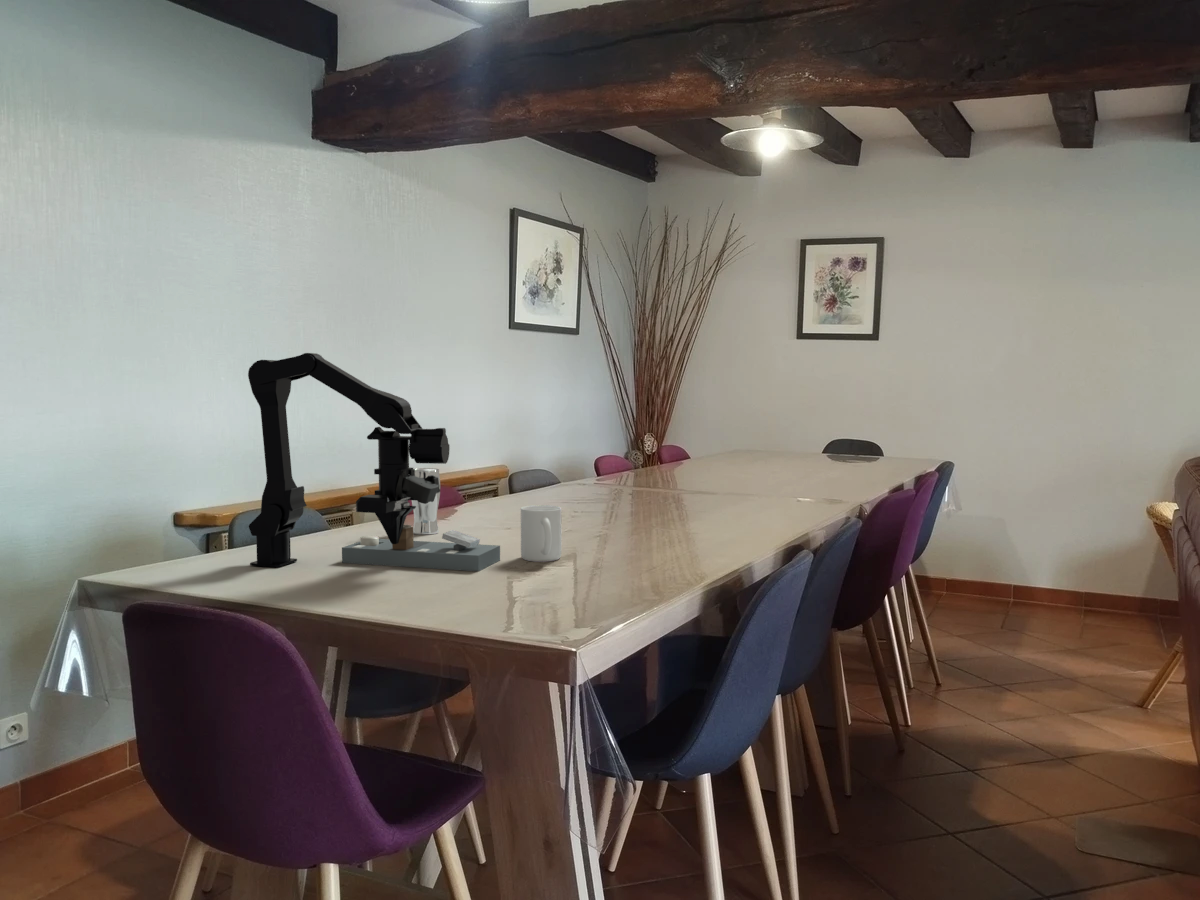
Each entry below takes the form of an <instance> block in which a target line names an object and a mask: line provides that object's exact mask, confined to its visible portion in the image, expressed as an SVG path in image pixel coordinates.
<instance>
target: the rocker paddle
mask: <svg viewBox="0 0 1200 900" xmlns="http://www.w3.org/2000/svg"><path fill="white" fill-rule="evenodd" d="M441 539H443V540H445V541H448V542H450V543H457V544H460V545H463V546H465V547H468V548H470V547H473V546H475V545H477V544H480V540H481V538H478V537H475V536H472V535H469V534H466V533H463V532H460V531H457V530H454V529H450V530H449V531H446V532H444V533H442V536H441Z"/></svg>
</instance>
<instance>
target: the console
mask: <svg viewBox="0 0 1200 900" xmlns="http://www.w3.org/2000/svg"><path fill="white" fill-rule="evenodd" d="M413 543H414V547H413V548H410V549H407V550H401V549H392V543H391V542H390V540H389V538H379V544H378V545H376V546H366V545H360V541H358V542H355V543H352V544H348V545H346V546H343V547H341V563H343V564H357V565H359V564H360V565H376V566H377V565H378V566H390V567H402V568H403V567H405V568H406V567H407V568H419V569H420V568H424V569H434V570H437V569H439V570H452V571H454V570H455V571H465V572H466V571H467V572H470V571H471V572H480V571H482V570H485V569H486V568H488V567H490V566H492V565H494V564H495V563H498V562H500V561H501V545H496V544H480V543H479V544H477V545H475V546H473V547H470V548H468V547H465V546H463V545H460V544H457V543H454V542H442V541H423V540H413Z"/></svg>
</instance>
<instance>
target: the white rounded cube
mask: <svg viewBox="0 0 1200 900" xmlns="http://www.w3.org/2000/svg"><path fill="white" fill-rule="evenodd" d="M359 539H360V541H359V542H360V545H366V546H376V545H378V544H379V539H380V538H379V536H377V535H365V536H361V537H360V538H359Z"/></svg>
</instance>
